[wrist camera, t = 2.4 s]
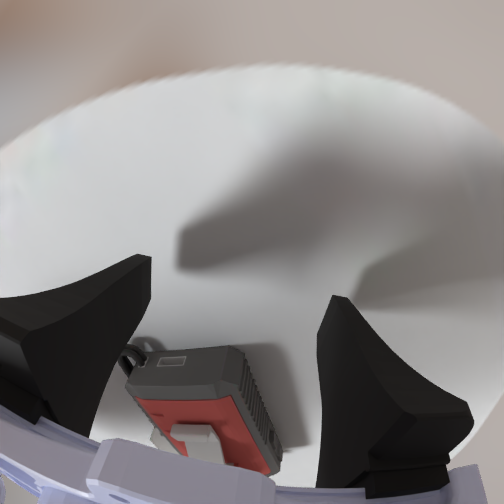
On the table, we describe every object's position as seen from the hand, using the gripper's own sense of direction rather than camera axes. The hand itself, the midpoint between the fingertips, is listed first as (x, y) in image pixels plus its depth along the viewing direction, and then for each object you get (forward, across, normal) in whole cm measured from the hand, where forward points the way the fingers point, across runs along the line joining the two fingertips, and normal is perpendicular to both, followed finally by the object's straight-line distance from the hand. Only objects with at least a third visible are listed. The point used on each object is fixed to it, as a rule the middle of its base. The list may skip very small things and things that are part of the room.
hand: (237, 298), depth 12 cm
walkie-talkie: (+2, 0, +14) cm, 14 cm away
